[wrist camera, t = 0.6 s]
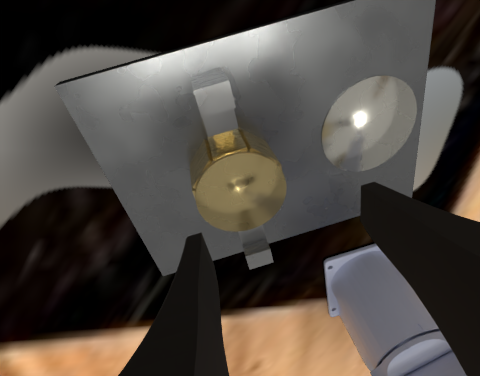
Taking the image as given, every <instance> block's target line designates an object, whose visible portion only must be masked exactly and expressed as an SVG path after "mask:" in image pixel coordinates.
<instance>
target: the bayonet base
mask: <svg viewBox="0 0 480 376" xmlns="http://www.w3.org/2000/svg"><path fill="white" fill-rule="evenodd" d="M435 2H436V0H345V1H342V2H338V3H335V4H331V5H328V6H324V7H321V8H317V9H314V10H310V11H307V12H303V13H300V14H296V15H293V16H289V17H286V18H282V19H279V20H275V21H272V22H268V23H265V24H261V25H258V26H254V27H250V28H247V29H243V30H240V31H236V32H233V33H229V34H226V35H222V36H219V37H215V38H212V39H208V40H205V41H201V42H198V43H194V44H191V45H187V46H184V47H180V48H177V49H173V50H170V51H166V52H163V53H159V54H156V55H152V56H149V57H145V58H142V59H138V60H135V61H131V62H128V63H124V64H121V65H117V66H114V67H110V68H107V69H103V70H100V71H96V72H93V73H89V74H85V75H82V76H78V77H75V78H71V79H68V80H64V81H61V82H59V83H58V84H56V85H55V86H54V87H55V88H56V90H57V92H58V94H59V95H60V97H61V99H62V100H63V102H64V104H65V106H66V107H67V109H68V111H69V113H70V114H71V116H72V118H73V120H74V121H75V123H76V125H77V127H78V128H79V130H80V132H81V134H82V135H83V137H84V139H85V141H86V142H87V144H88V146H89V147H90V149H91V151H92V153H93V155H94V156H95V158H96V160H97V162H98V163H99V165H100V167H101V169H102V170H103V172H104V174H105V175H106V177H107V179H108V181H109V182H110V184H111V186H112V188H113V189H114V191H115V193H116V195H117V196H118V198H119V200H120V202H121V203H122V205H123V207H124V209H125V210H126V212H127V214H128V216H129V217H130V219H131V221H132V223H133V224H134V226H135V228H136V230H137V231H138V233H139V235H140V237H141V238H142V240H143V242H144V243H145V245H146V247H147V249H148V250H149V252H150V254H151V256H152V257H153V259H154V261H155V263H156V264H157V266H158V268H159V270H160V271H161V273H162V275H163V276H165V275H168V274H171V273H175V272H176V271H177V268H178V266H179V263H180V259H181V256H182V253H183V249H184V245H185V241H186V238H187V237H188V236H191V235H194V234H198V233H202V235H203V238H204V240H205V243H206V245H207V248H208V250H209V253H210V256H211V258H212V261H214V260H217V259H220V258H223V257H227V256H230V255H233V254H236V253H240V252H243V251H244V253H245V256H246V259H247V263H248V266H249V269H253V268H257V267H260V266H263V265H266V264H269V263H273V258H272V254H271V250H270V247H269V243H272V242H275V241H278V240H282V239H285V238H288V237H291V236H295V235H298V234H301V233H304V232H308V231H311V230H314V229H317V228H321V227H324V226H327V225H330V224H334V223H337V222H340V221H343V220H347V219H350V218H353V217H356V216H360V207H361V185H364V184H368V183H371V182H376V183H379V184H381V185H383V186H386V187H388V188H390V189H393V190H395V191H397V192H399V193H402V194H404V195H406V196H408V197H411V198H412V192H413V184H414V175H415V167H416V159H417V150H418V142H419V134H420V126H421V117H422V109H423V101H424V93H425V84H426V76H427V68H428V60H429V51H430V43H431V35H432V26H433V18H434V10H435ZM237 128H238V130H239V131H240V129H241V128H242V129H244V130H245V131H247V132H249V133H251V134H253V135H255V136H257V137H259V138H260V139H262V140H264V141H266V142H267V144H268V145H269V147H270V148H271V150H272V151H273V153H274V154H275V156H276V157H277V159H278V161H279V162H280V164H281V167H282V172H283V175H284V177H285V180H286V187H287V188H286V196H285V199H284V202H283V204H282V206H281V208H280V209H279V211H278V212H277V213H276V214H275V215H274V216H273V217H272V218H271V219H270V220H269V221H267V222H266V223H264V224H262V225H261V226H258V227H256V228H253V229H250V230H246V231H238V232H233V231H225V230H221V229H218V228H216V227H214V226H212V225H210V224H209V223H208V222H206V221H205V219H204V218H203V217H202V216H201V214H200V213H199V211H198V208H197V205H196V200H195V197H194V195H193V192H192V185H191V175H190V163H191V161H192V160H193V158H194V156H195V154H196V153H197V151H198V149H199V147H200V146H201V144H202V142H203V140H204V139H205V140H207V141H208V137H210V136H214V135H217V134H220V133H224V132H227V131H231V130H234V129H237Z"/></svg>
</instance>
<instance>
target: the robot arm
mask: <svg viewBox="0 0 480 376" xmlns="http://www.w3.org/2000/svg"><path fill="white" fill-rule="evenodd" d="M360 221H361V223H362V224H363V226H364V228H365V229H366V231H367V232H368V234H369V235H370V237H371V239H372V240H373V241H374V242H375V244H372V245H369V246H366V247H362V248H359V249H356V250H353V251H350V252H346V253H343V254H340V255H337V256H334V257H330V258H327V259H326V260H325V261H324V272H325V282H326V291H327V301H328V311H329V315H330V316H331V317H335V316H338V315H340V317H341V319H342V321H343V323H344V325H345V327H346V329H347V331H348V333H349V335H350V336H351V338H352V340H353V342H354V344H355V346H356V348H357V350H358V352H359V354H360V356H361V358H362V359H363V361H364V363H365V365H366V366H367V367H368V369H369V370H370V371H371V372H370V373H371V375H372V376H480V222H477V221H474V220H471V219H467V218H464V217H461V216H458V215H455V214H452V213H449V212H446V211H443V210H441V209H438V208H435V207H433V206H430V205H428V204H425V203H423V202H420V201H418V200H415V199H413V198H411V197H408V196H406V195H404V194H402V193H399V192H397V191H395V190H393V189H390V188H388V187H386V186H383V185H381V184H379V183H376V182H371V183H368V184H364V185H361V207H360ZM118 376H229V373H228V367H227V362H226V356H225V350H224V344H223V336H222V325H221V313H220V300H219V289H218V282H217V277H216V272H215V267H214V263H213V261H212V258H211V256H210V253H209V250H208V248H207V245H206V243H205V240H204V238H203V235H202V233H198V234H194V235H191V236H188V237H187V238H186V241H185V245H184V249H183V253H182V256H181V259H180V263H179V266H178V268H177V271H176V274H175V277H174V279H173V282H172V284H171V287H170V289H169V292H168V294H167V296H166V298H165V301H164V303H163V305H162V307H161V309H160V311H159V313H158V315H157V317H156V319H155V320H154V322H153V324H152V326H151V327H150V329H149V331H148V332H147V334H146V336H145V337H144V339H143V341H142V342H141V344H140V345H139V347H138V348H137V350H136V351H135V353H134V354H133V356H132V357H131V359H130V360H129V361H128V363H127V364H126V366H125V367H124V369H123V370H122V371H121V373H120V374H119V375H118Z"/></svg>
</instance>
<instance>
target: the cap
mask: <svg viewBox="0 0 480 376" xmlns="http://www.w3.org/2000/svg"><path fill="white" fill-rule="evenodd" d="M190 175H191V185H192V192H193V195H194V197H195V200H196V205H197V208H198V211H199V213H200V214H201V216H202V217H203V218H204V219H205V221H206V222H208V223H209V224H210V225H212V226H214V227H216V228H218V229H221V230H225V231H233V232H238V231H246V230H250V229H253V228H256V227H258V226H261V225H262V224H264V223H266V222H267V221H269V220H270V219H271V218H272V217H273V216H274V215H275V214H276V213H277V212H278V211H279V209H280V208H281V206H282V204H283V202H284V199H285V196H286V188H287V187H286V180H285V177H284V175H283V172H282V167H281V164H280V162H279V161H278V159H277V157H276V156H275V154H274V153H273V151H272V150H271V148H270V147H269V145H268V144H267V142H266V141H264V140H262V139H260V138H259V137H257V136H255V135H253V134H251V133H249V132H247V131H245V130H244V129H242V128H241V129H240V131H239V130H238V128H237V129H234V130H231V131H227V132H224V133H220V134H217V135H214V136H210V137H208V141H207V140H205V139H204V140H203V142H202V144H201V146H200V147H199V149H198V151H197V153H196V154H195V156H194V158H193V160H192V161H191V163H190Z"/></svg>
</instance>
